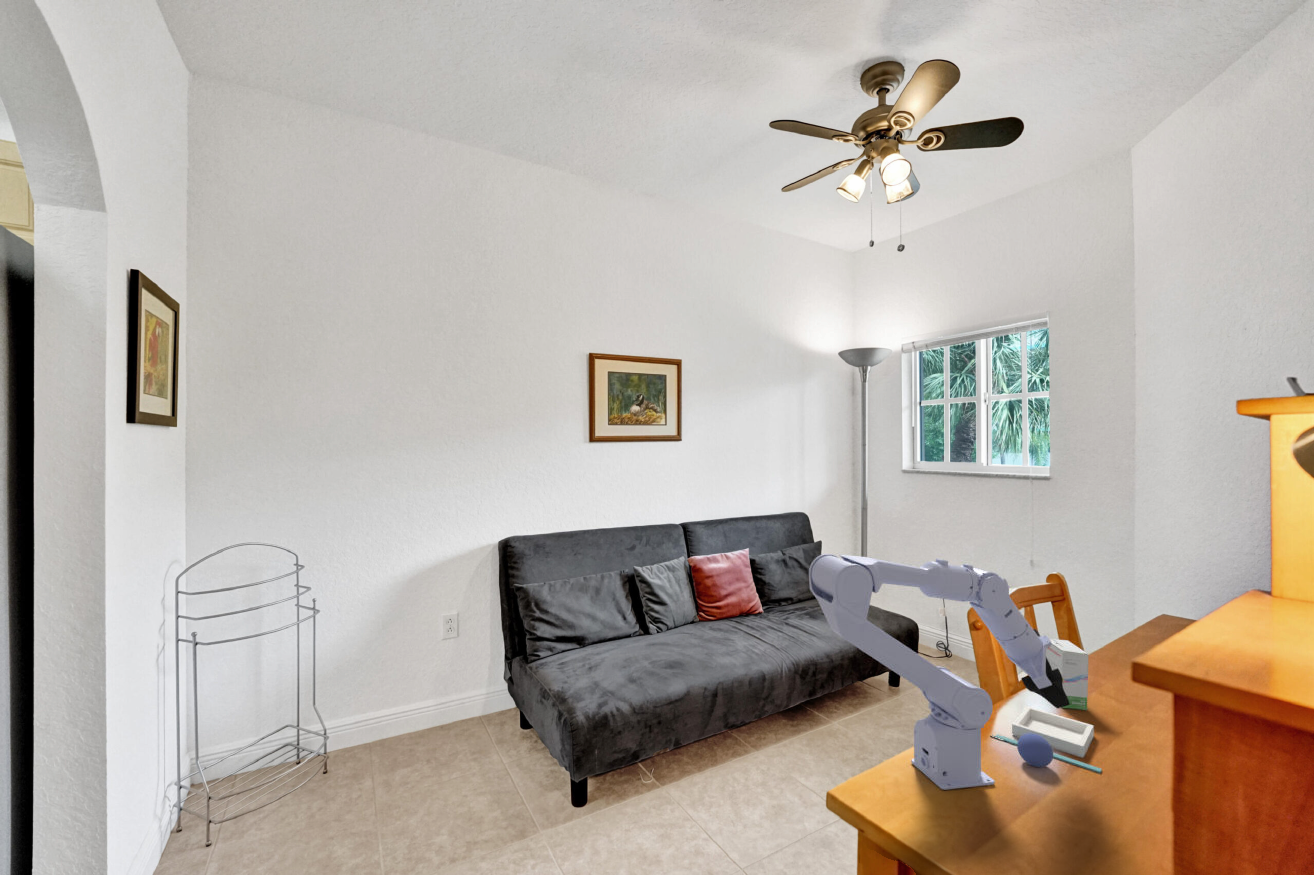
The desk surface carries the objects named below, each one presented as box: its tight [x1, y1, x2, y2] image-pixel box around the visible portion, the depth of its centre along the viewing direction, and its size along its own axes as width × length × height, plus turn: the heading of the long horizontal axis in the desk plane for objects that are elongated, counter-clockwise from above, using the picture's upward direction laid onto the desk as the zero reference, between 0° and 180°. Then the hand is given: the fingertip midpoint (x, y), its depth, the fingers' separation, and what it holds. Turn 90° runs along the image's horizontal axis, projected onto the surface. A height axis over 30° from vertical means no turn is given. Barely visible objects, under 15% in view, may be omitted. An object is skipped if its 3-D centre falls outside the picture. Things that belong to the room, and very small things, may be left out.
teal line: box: [992, 734, 1102, 774], centre depth 96 cm, size 16×1×1 cm, turn 44°
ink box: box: [1046, 638, 1089, 711], centre depth 117 cm, size 9×5×12 cm, turn 168°
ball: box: [1016, 733, 1054, 768], centre depth 93 cm, size 5×5×5 cm
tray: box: [1011, 705, 1095, 759], centre depth 102 cm, size 11×11×2 cm
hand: (1054, 688), depth 93 cm, fingers open, 7 cm apart
